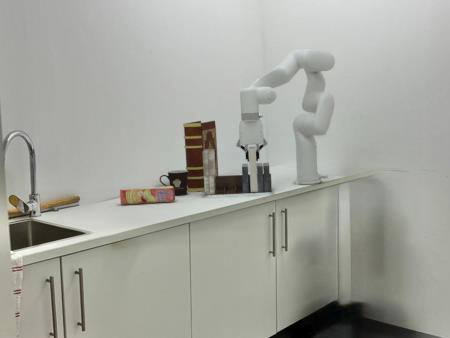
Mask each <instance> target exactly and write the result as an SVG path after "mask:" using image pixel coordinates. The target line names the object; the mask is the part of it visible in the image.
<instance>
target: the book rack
mask: <svg viewBox="0 0 450 338" xmlns="http://www.w3.org/2000/svg"><path fill="white" fill-rule="evenodd" d="M203 169H204V187H205V190H204V197H205V196H224V195H225V196H226V195H244V194H265V193H266V194H268V193H269V194H270V193H273V189H272V173H270V163H269V162H257V180H258V192H251V186H250V173H249V163H242V164H241V174H231V175H230V174H229V175H218V176H216V171H215V153H214V149H205V150H204V151H203Z"/></svg>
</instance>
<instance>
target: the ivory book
mask: <svg viewBox="0 0 450 338" xmlns="http://www.w3.org/2000/svg"><path fill="white" fill-rule="evenodd" d="M256 150H257V148H256V146H248V152H249V162H248V170H249V174H250V186H251V192H258V180H257V163H258V161H256Z"/></svg>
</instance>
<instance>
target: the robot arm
mask: <svg viewBox="0 0 450 338" xmlns="http://www.w3.org/2000/svg"><path fill="white" fill-rule="evenodd" d="M335 59H336V58H335V57H334V55H333V54H332V53H331V52H330V51H325V50H320V49H315V48H298V49H297V48H296V49H293V50H291V51H289V53H287V54H286V56H285V57H284V58H283V59H282V60H281V61H280V62H279V63H278V64H277V65H276V66H275V67H274V68H273V69H270V70H269V71H268V72H266V73H264V74H262V75H261V76H260V77H257V79H255V80H254V82H252V83H251V85H250V86H249V87H242V88H241V89H240V90H239V98H240V99H239V101H240V116H241V117H240V119H241V120H240V121H239V126H238V140H237V142H236V145H235V146H236V147H237V148H240V149H241V150H242V151H243V152H244V153H245V160H247V162H248V163H249V152H248V148H249V145H251V146H253V145H255V147H256V162H259V160H260V151H261V150H262V149H263V148H265V147H266V146H267V145H268V141H267V140H266V139H265V135H264V128H263V122H262V120H261V118H263V117H264V114H263V113H260V105H271V104H273V103H274V102H275V101H276V99H277V91H276V90H275V89H274V88H278V87H281V86H284V85H286V84H288V83H290V81H291V80H292V79H293V78H294V77H295V76H296V75H297V73H299V71H300V70H302V69H303V70H304V73H305V75H306V77H307V78H306V79H307V80H306V81H307V83H306V87H305V90H304V94H303V97H302V101H301V109H302V110H303V111H304V112H306V113H301V114H299V115H297V116H295V118H294V119H293V121H292V129H293V135H294V139H295V140H294V141H295V158H296V159H295V160H296V162H295V163H296V179H294V180H293V182H294V183H297V184H298V185H303V186H304V185H316V184H320V183H322V179H328V178H329V177H328V176H329V175H328V173H319V172H318V151H317V150H318V146H317V141H316V138H315V136H324V135H325V134H326V133H327V132H328V130H329V127H330V124H331V120H332V117H333V114H334V110H335V97H334V96H333V94H332V93H330V92H329V91H325V89H326V78H325V76H324V74H323V73H322V72H329V71H331V70H332V69H333V68H334V67H335V64H336V60H335Z"/></svg>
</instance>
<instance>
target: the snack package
mask: <svg viewBox="0 0 450 338" xmlns="http://www.w3.org/2000/svg"><path fill="white" fill-rule="evenodd" d="M119 197H120V205H122V206H126V205H137V204H138V205H139V204H156V203H174V202H175V199H176V196H175V191H174V187H173V186H170V185H167V186H164V185H163V186H137V187H136V186H135V187H121V188H120V189H119Z"/></svg>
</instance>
